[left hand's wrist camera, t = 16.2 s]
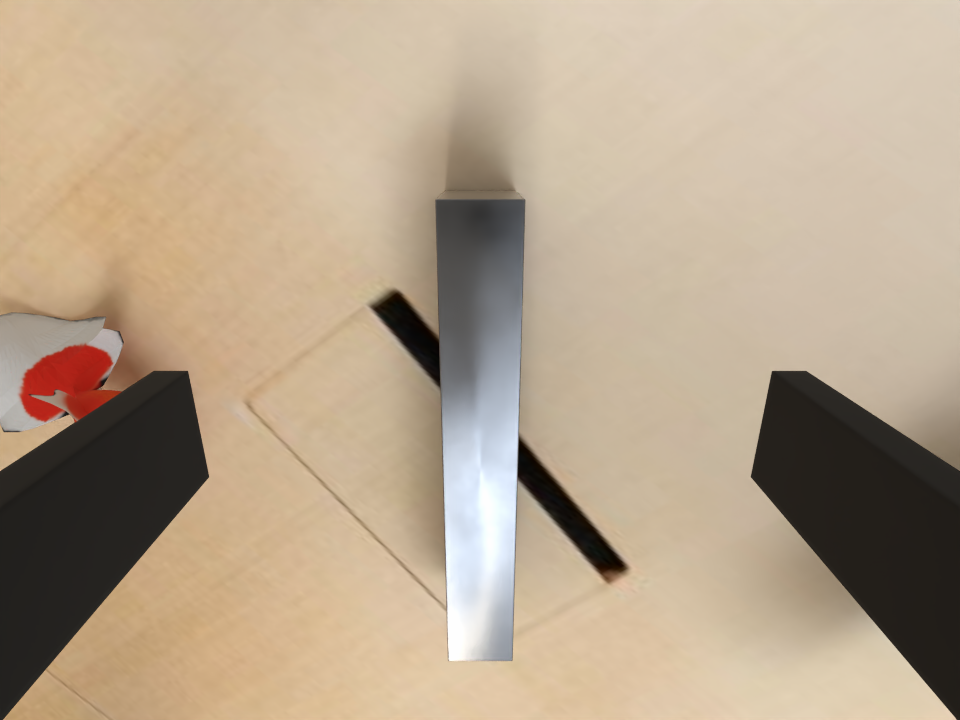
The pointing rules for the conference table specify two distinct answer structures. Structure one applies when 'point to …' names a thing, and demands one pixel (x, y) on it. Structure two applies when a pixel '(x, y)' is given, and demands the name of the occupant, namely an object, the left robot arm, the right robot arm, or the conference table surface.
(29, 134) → the conference table surface
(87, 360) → the fish
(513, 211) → the bar
